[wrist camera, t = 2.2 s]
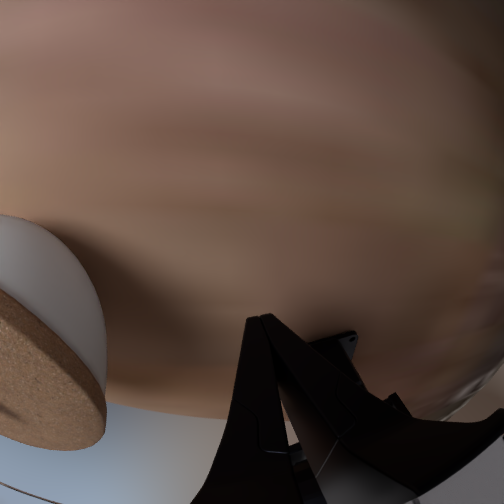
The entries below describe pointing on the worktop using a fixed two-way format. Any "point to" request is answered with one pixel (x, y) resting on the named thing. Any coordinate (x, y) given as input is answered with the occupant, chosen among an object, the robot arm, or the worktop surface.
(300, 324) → the worktop surface
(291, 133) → the worktop surface
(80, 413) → the lidded jar
